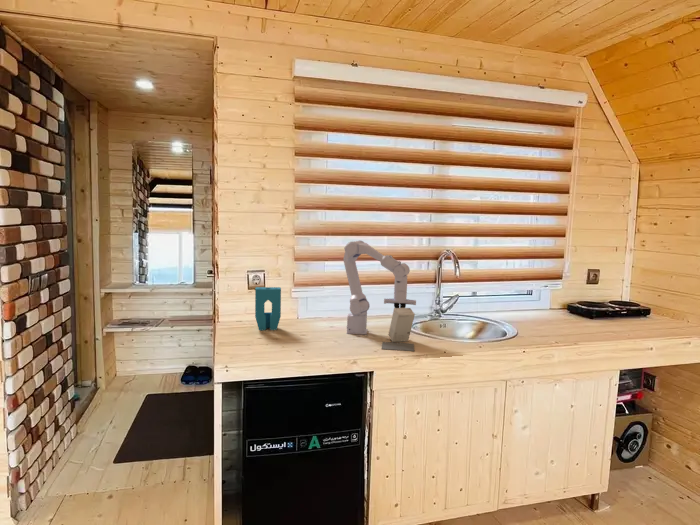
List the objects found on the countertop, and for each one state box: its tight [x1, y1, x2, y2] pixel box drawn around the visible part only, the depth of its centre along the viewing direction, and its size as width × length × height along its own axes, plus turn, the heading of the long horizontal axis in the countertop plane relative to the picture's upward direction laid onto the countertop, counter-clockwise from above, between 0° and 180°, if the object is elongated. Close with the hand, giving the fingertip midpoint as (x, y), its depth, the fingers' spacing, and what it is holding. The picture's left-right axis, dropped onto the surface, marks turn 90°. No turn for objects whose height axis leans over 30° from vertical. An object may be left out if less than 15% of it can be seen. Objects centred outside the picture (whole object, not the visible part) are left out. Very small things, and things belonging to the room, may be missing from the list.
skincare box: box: [387, 307, 416, 343], centre depth 208 cm, size 8×6×15 cm
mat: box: [381, 341, 415, 352], centre depth 201 cm, size 14×10×1 cm
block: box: [254, 286, 282, 331], centre depth 222 cm, size 12×5×20 cm, turn 100°
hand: (399, 319), depth 211 cm, fingers closed
